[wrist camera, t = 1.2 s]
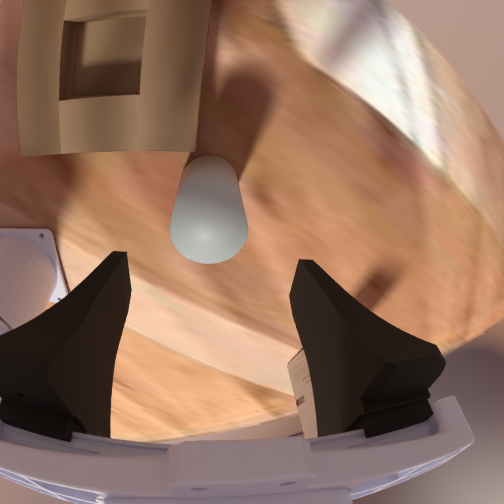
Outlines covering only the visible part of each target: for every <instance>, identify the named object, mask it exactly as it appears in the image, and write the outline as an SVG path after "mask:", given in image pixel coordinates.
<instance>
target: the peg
mask: <svg viewBox="0 0 504 504" xmlns="http://www.w3.org/2000/svg"><path fill="white" fill-rule="evenodd" d="M247 235H248V223H247V219H246V214H245V210H244V206H243V201H242V197H241V193H240V188H239V184H238V180H237V175H236V172H235V170H234V168H233V166H232V165H231V164H230V163H229V162H228V161H226V160H225V159H223V158H221V157H219V156H214V155H205V156H200V157H198V158H195V159H194V160H192V161H191V162H190V163H189V164H188V165H187V166H186V167H185V169H184V170H183V173H182V176H181V180H180V184H179V188H178V193H177V197H176V201H175V205H174V210H173V214H172V219H171V223H170V236H171V240H172V242H173V244H174V246H175V248H176V249H177V250H178V251H179V252H180V253H181V254H182V255H183V256H185V257H186V258H188V259H190V260H192V261H195V262H198V263H204V264H213V263H219V262H223V261H225V260H228V259H230V258H231V257H233V256H234V255H235V254H237V253H238V252H239V251H240V250H241V248H242V247H243V246H244V244H245V242H246V239H247Z"/></svg>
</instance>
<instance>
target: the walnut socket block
mask: <svg viewBox="0 0 504 504" xmlns="http://www.w3.org/2000/svg"><path fill="white" fill-rule="evenodd" d="M212 2H213V0H24V4H23V10H22V17H21V24H20V32H19V43H18V56H17V83H16V95H17V123H18V137H19V148H20V157H30V156H41V155H53V154H67V153H84V152H112V151H174V152H195V150H196V145H197V138H198V125H199V113H200V102H201V91H202V81H203V72H204V63H205V54H206V46H207V38H208V30H209V23H210V16H211V9H212Z"/></svg>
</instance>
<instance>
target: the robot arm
mask: <svg viewBox="0 0 504 504" xmlns="http://www.w3.org/2000/svg"><path fill="white" fill-rule="evenodd" d="M41 233H42V234H43V235H44V236H42V235H41ZM131 291H132V289H131V282H130V275H129V267H128V259H127V252H120V251H113V252H112V253H111V254H110V255H108V256H107V257H106V258H105V259H104V260H103V261H102V262H101V263H100V264H99V265H98V266H97V267H96V268H95V269H94V270H93V271H92V272H91V273H90V274H89V275H88V276H87V277H86V278H85V279H84V280H83V281H82V282H81V283H80V284H79V285H78V286H77V287H75V288H74V289H73V290H72V291H71V292H70V293H69V294H68V291H67V287H66V284H65V281H64V277H63V274H62V270H61V266H60V263H59V259H58V255H57V251H56V247H55V242H54V238H53V234H52V232H51V230H49V229H35V228H0V476H2V477H4V478H6V479H8V480H11V481H13V482H16V483H18V484H21V485H23V486H26V487H28V488H31V489H33V490H36V491H39V492H41V493H44V494H47V495H50V496H53V497H56V498H59V499H62V500H65V501H69V502H72V503H76V504H353V503H352V500H353V499H356V498H360V497H362V496H366V495H369V494H372V493H374V492H377V491H380V490H383V489H385V488H388V487H391V486H393V485H396V484H398V483H401V482H403V481H406V480H408V479H410V478H413V477H415V476H417V475H420V474H422V473H424V472H426V471H429V470H431V469H433V468H435V467H437V466H439V465H441V464H443V463H445V462H446V461H448V460H449V459H451V458H452V457H454V456H455V455H457V454H458V453H459V452H461V451H462V450H464V449H465V448H466V447H468V446H469V445H471V444H472V443H474V442H475V438H474V436H473V433H472V431H471V429H470V427H469V425H468V423H467V420H466V418H465V416H464V414H463V412H462V410H461V408H460V406H459V404H458V402H457V400H456V398H455V396H450V397H447V398H444V399H441V400H438V401H436V402H434V403H432V404H431V405H430V404H429V402H428V400H427V399H429V398H430V393H429V391H428V388H429V387H430V386H431V385H432V384H433V383H434V382H435V381H436V379H437V378H438V377H439V376H440V375H441V373H442V372H443V370H444V367H445V364H446V361H445V359H444V357H443V356H442V354H441V352H440V350H439V349H438V347H437V345H435V344H432V343H430V342H427V341H425V340H422V339H419V338H417V337H415V336H413V335H411V334H408V333H406V332H404V331H402V330H401V329H399V328H397V327H395V326H393V325H392V324H390V323H388V322H387V321H385V320H383V319H382V318H380V317H379V316H377V315H376V314H374V313H373V312H371V311H370V310H369V309H367V308H366V307H364V306H363V305H362V304H361V303H359V302H358V301H357V300H356V299H355V298H353V297H352V296H351V295H350V294H349V293H348V292H346V291H345V290H344V289H343V288H342V287H341V286H340V285H339V284H338V283H337V282H335V281H334V280H333V279H332V278H331V277H330V276H329V275H328V274H327V273H326V272H325V271H324V270H323V269H322V268H321V267H320V266H319V265H318V264H317V263H315V262H314V261H313V260H305V259H299V261H298V265H297V268H296V272H295V276H294V280H293V283H292V287H291V291H290V294H289V297H290V304H291V309H292V315H293V318H294V322H295V325H296V328H297V331H298V334H299V337H300V340H301V343H302V346H303V350H304V353H305V356H306V360H307V363H308V368H309V373H310V378H311V384H312V390H313V397H314V404H315V413H316V422H317V434H318V437H316V438H309V439H302V438H299V437H277V438H265V439H250V440H222V441H221V440H218V441H205V440H204V441H202V440H201V441H184V442H181V443H177V444H174V445H173V444H158V443H146V442H136V441H127V440H119V439H112V438H110V416H111V395H112V383H113V374H114V366H115V359H116V354H117V350H118V346H119V343H120V339H121V335H122V332H123V328H124V324H125V321H126V317H127V314H128V310H129V304H130V297H131ZM48 302H56V304H55V305H53V306H52V307H50V308H49V309H47V310H46V311H45V308H46V306H47V304H48Z"/></svg>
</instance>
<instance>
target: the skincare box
mask: <svg viewBox="0 0 504 504" xmlns="http://www.w3.org/2000/svg"><path fill="white" fill-rule="evenodd" d="M287 368H288V372H289V376H290V380H291V384H292V388H293V392H294V396H295V400H296V404H297V408H298V412H299V416H300V420H301V424H302V428H303V432H304V436H305V439H309V438H316V437H318V434H317V422H316V413H315V404H314V397H313V390H312V384H311V378H310V373H309V368H308V363H307V360H306V356H305V353H304V350H302V351H301V352H300V353H299V354H298V355H297V356H296V357H295V358H294V359H293V360H292V361H291V362H290V363H289V364H288V366H287Z"/></svg>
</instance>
